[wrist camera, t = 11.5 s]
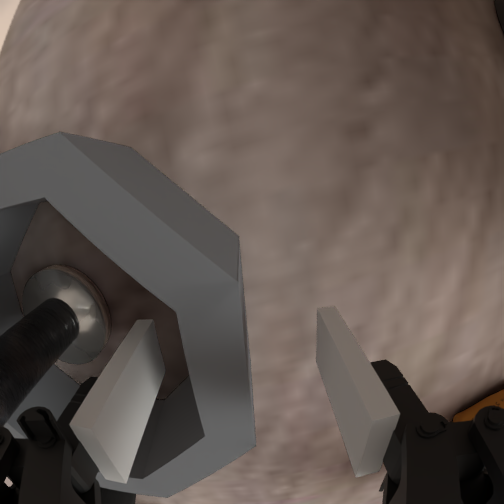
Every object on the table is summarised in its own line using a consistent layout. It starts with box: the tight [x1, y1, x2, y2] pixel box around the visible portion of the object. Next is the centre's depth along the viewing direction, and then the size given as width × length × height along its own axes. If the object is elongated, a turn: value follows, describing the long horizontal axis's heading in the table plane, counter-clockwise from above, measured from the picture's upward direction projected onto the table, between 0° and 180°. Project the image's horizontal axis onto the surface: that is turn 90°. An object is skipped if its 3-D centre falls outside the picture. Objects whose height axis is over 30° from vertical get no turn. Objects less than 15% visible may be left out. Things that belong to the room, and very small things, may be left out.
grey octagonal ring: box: [0, 132, 256, 498], centre depth 13 cm, size 18×18×7 cm
